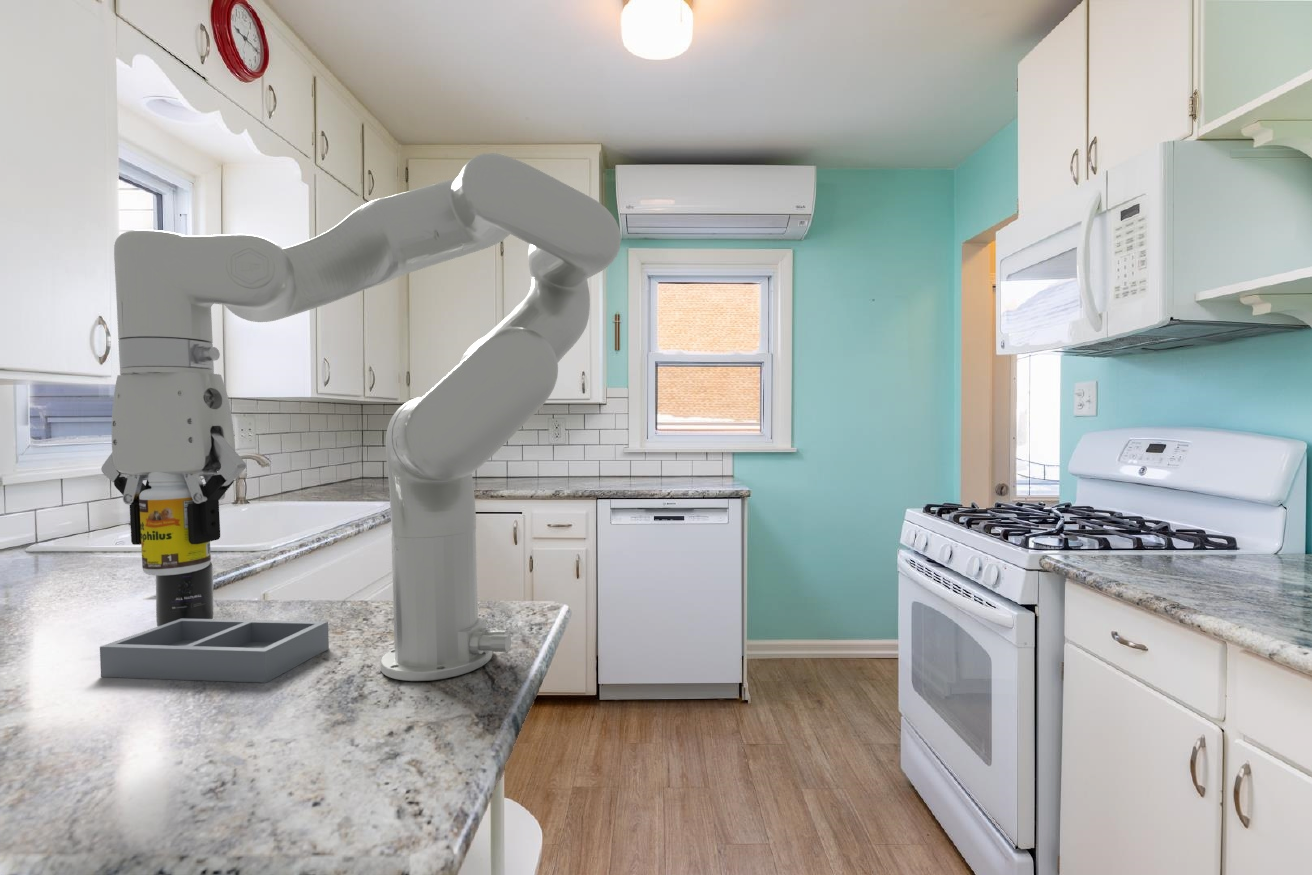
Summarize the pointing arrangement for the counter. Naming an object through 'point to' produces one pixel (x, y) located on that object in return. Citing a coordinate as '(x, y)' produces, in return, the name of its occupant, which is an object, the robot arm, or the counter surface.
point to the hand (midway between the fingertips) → (176, 540)
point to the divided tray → (215, 650)
